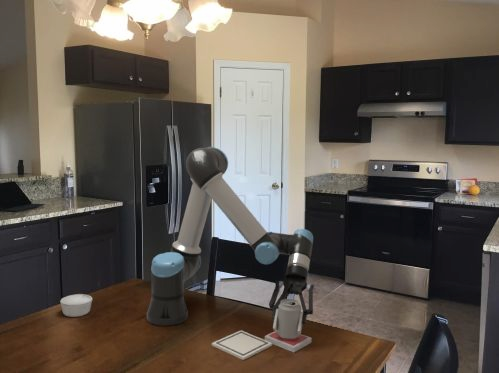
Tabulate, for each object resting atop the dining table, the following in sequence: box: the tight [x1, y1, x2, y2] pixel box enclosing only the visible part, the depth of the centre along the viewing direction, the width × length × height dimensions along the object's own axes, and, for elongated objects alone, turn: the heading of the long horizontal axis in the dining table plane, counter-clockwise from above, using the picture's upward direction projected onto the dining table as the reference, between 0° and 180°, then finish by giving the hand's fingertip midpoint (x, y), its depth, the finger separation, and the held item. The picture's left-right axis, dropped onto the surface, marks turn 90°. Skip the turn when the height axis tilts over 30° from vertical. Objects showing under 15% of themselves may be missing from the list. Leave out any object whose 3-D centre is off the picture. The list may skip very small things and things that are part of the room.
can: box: [277, 298, 302, 340], centre depth 153 cm, size 8×8×12 cm
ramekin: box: [59, 293, 93, 318], centre depth 174 cm, size 11×11×5 cm
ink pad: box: [264, 329, 312, 353], centre depth 154 cm, size 12×10×2 cm
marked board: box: [211, 330, 273, 361], centre depth 150 cm, size 14×14×1 cm
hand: (286, 330), depth 150 cm, fingers closed on can, 7 cm apart
